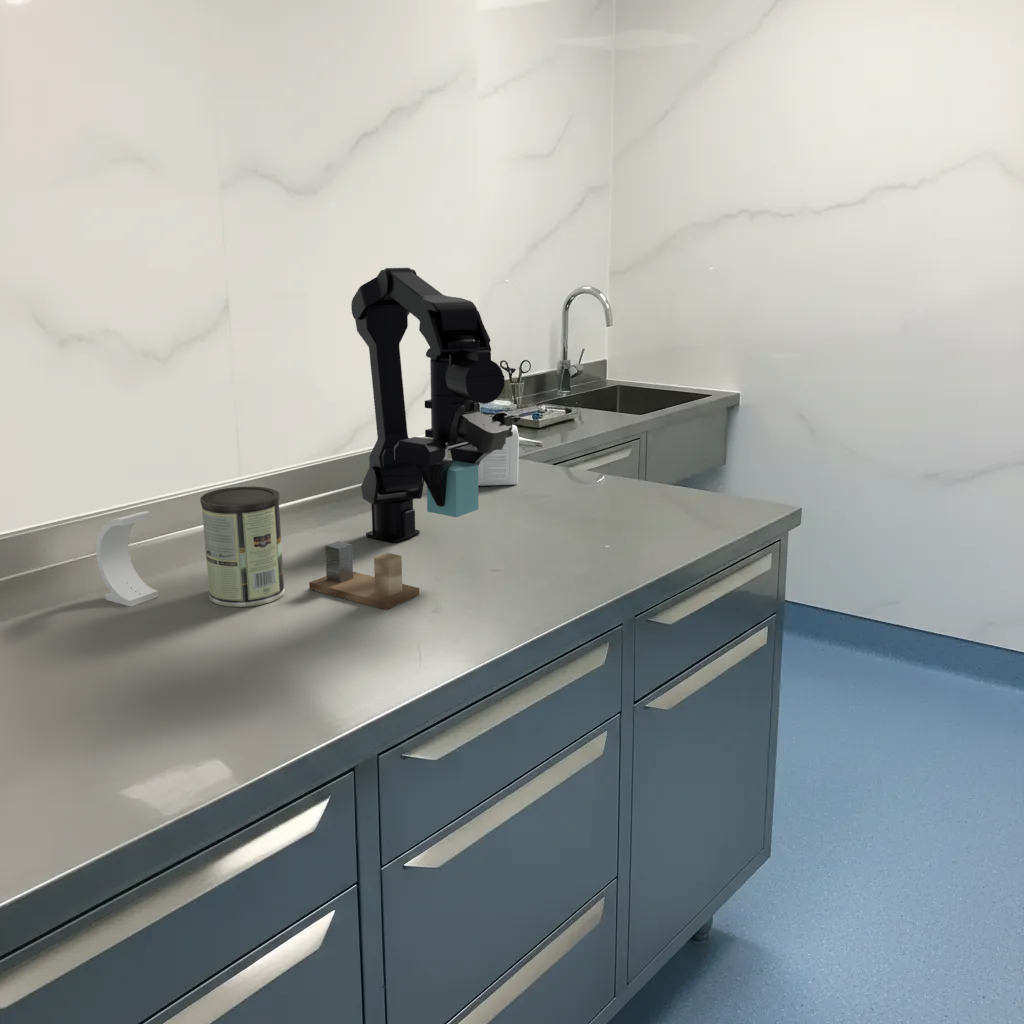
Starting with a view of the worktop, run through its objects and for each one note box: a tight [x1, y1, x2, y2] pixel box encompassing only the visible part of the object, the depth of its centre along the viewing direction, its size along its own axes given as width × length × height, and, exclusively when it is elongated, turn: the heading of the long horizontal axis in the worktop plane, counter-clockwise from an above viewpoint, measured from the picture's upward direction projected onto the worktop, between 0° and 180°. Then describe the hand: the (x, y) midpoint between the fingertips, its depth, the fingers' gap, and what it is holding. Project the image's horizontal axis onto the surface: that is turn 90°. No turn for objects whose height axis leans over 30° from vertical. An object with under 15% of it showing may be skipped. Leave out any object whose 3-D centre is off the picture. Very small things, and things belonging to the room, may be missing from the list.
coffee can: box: [199, 486, 286, 608], centre depth 142 cm, size 10×10×14 cm
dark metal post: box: [324, 540, 354, 583], centre depth 146 cm, size 3×3×5 cm
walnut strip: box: [308, 571, 420, 611], centre depth 145 cm, size 14×7×1 cm, turn 56°
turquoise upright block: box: [426, 459, 479, 518], centre depth 149 cm, size 5×5×7 cm
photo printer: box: [478, 424, 520, 487], centre depth 203 cm, size 10×4×12 cm, turn 102°
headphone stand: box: [95, 510, 159, 608], centre depth 141 cm, size 5×6×12 cm
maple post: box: [373, 552, 403, 596], centre depth 141 cm, size 3×3×5 cm
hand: (452, 502), depth 149 cm, fingers closed on turquoise upright block, 5 cm apart
